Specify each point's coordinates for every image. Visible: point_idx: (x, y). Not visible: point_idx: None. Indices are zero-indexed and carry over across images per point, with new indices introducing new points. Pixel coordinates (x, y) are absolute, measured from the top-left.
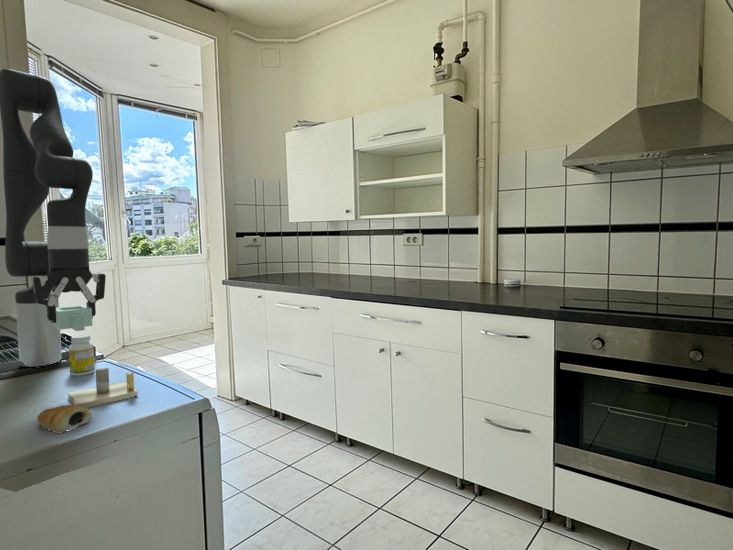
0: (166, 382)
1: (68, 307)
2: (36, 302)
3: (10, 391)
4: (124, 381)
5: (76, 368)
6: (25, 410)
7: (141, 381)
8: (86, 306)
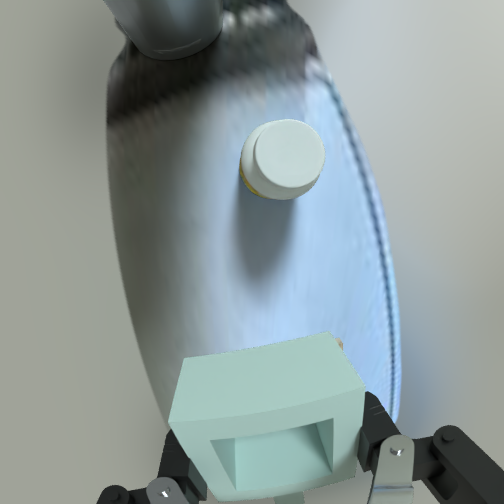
0: (399, 347)
1: (265, 431)
2: (107, 487)
3: (122, 244)
4: (342, 346)
5: (256, 194)
6: (173, 380)
7: (371, 321)
8: (357, 432)
